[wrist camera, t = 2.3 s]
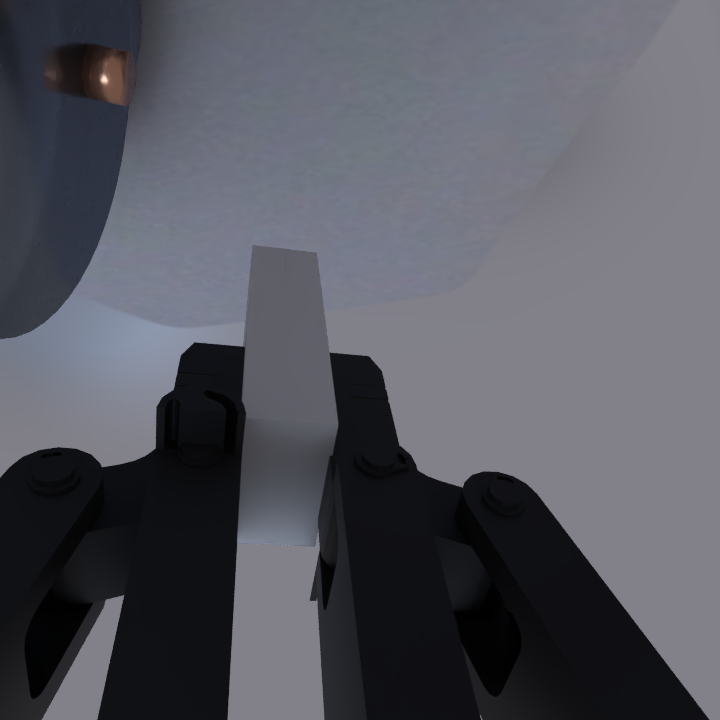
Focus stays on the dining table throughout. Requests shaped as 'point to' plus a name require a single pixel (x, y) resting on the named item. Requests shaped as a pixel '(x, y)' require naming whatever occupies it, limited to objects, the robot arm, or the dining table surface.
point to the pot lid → (57, 146)
